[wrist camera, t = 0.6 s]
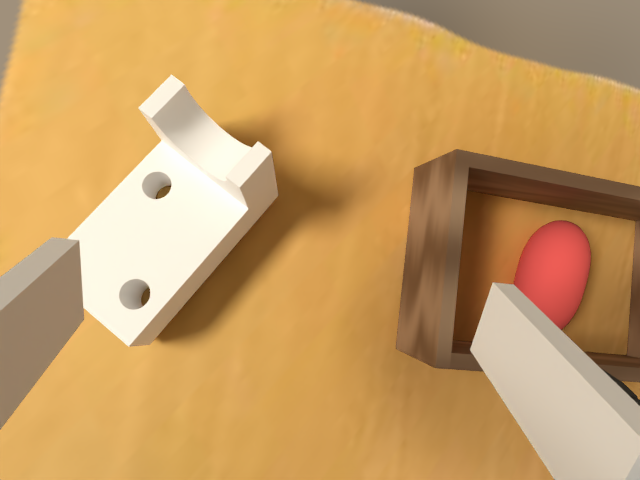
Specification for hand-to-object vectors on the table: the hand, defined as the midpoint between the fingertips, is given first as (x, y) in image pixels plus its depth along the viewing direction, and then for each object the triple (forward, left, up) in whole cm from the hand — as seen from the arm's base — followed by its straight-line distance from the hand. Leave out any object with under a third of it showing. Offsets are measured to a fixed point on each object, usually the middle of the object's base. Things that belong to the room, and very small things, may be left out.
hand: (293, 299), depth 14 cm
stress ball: (+3, -23, -17) cm, 29 cm away
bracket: (+3, +6, -17) cm, 19 cm away
